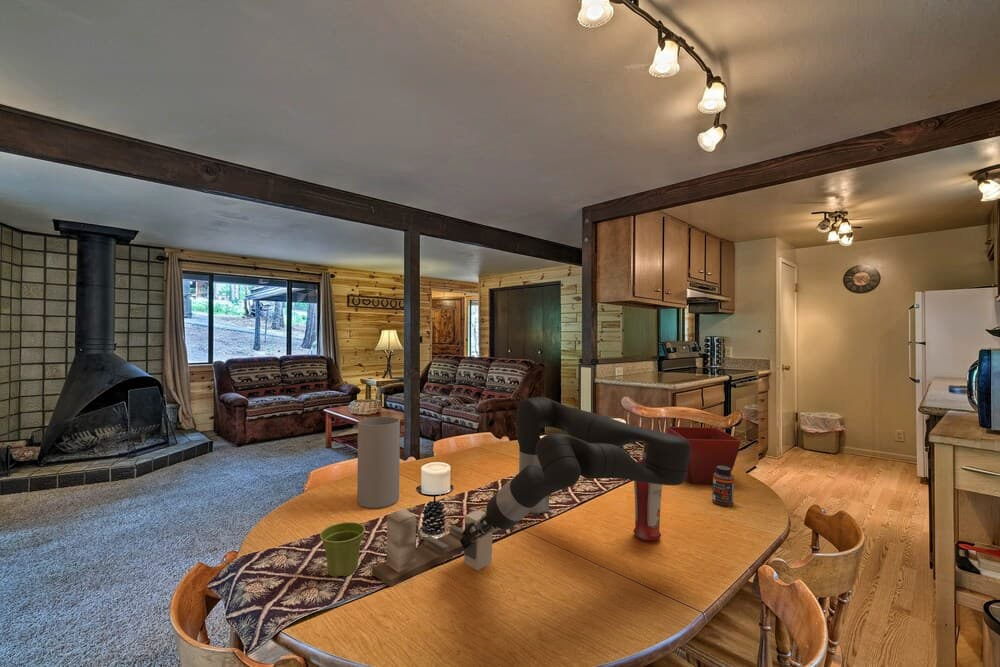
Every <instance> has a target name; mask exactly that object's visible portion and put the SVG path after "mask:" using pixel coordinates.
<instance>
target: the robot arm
mask: <svg viewBox="0 0 1000 667" xmlns="http://www.w3.org/2000/svg"><path fill="white" fill-rule="evenodd" d="M515 416H516V417H515V418H516V438H517V442H518V447H519V450H518V452H519V453H518V457H519V458H518V461H519V462H518V464H519V465H518V473H517V474H516V475H515V476H514V477H513V478H512V479H511V480H509V481H508V482H506V483H505V484H504V485H503V486H502V487H501V488H500V489H499V490H498V491H496V493H495V494H494V495H493V496H492V497H491V498H490V499H489V500H488V501H487V504H486V511H485V514H483V515H482V516H481V518H480V519H479V520H478V521H476V522H475V523H474V522H472V523H470V524H469V526H468V527H467V528H466V529H465V528H464V529H463V530H464V532H463V533H462V535H463V538H462V539H461V540H460V543H461V545H462V547H463V548H464V549H465V548H467V547H468V546H469V545H471V544H472V543H473V542H475V540H477V539H478V538H483V537H485V536H486V535H487V534H488V533H490V532H492V534H493V533H495V532H497V531H499V530H502V531H506V530H507V531H509V530H511V529H512V528H514V527H515V526H516V525H517V524H518V523H519V522H520V521H521V520H523V519H524V518H525V517H526V516H527V515H529V514H543V513H550V495H552V494H554V493H556V492H559V491H562V490H565V489H568V488H571V487H573V486H574V485H576V484H577V483H578V481H579V480H580V478H581V477H582V478H585V479H590V480H591V479H593V480H594V479H597V480H598V479H620V480H629V481H633V482H634V481H639V482H646V483H653V484H660V485H662V486H672V487H673V486H680V485H683V484H684V483H685V481H686V476H687V471H688V464H689V458H690V451H691V445H690V443H689V442H688V441H687V440H686V439H684V438H682V437H679V436H676V435H672V434H668V432H665V431H664V432H663V431H659V430H655V429H651V428H646V427H642V426H638V425H632V424H630V423H627V422H623V421H620V420H617V419H614V418H610V417H608V416H605V415H601V414H599V413H595V412H591V411H588V410H587V411H586V410H584V409H580V408H579V409H578V408H575V407H570V406H567V405H565V404H562V403H561V402H559V401H555V400H553V399H551V398H549V397H547V396H537V397H529V398H524V399H522V400H520V402H519V403H518V405H517V407H516V415H515ZM542 428H554V429H557V430H561V431H563V432H565V433H561V432H559V433H558V432H557V433H556V432H554V433H548V434H546V435H545V434H544V436H542V437H541V434H540V429H542ZM566 433H567V434H566ZM640 442H641V443H644V442H646V443H647V444H648V447H647V453H646V460H645V467H643V466H641V465H639V464H638V463H637V460H635V459H634V458H633V457H632V456H631V455H630V454H629V453H628V452H627V451H626V450H624V449H623V448H621V447H622V446H625V445H627V444H628V445H629V444H633V443H634V444H635V443H640ZM481 529H482V531H484V533H482V531H481Z"/></svg>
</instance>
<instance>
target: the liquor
mask: <svg viewBox="0 0 1000 667" xmlns="http://www.w3.org/2000/svg"><path fill="white" fill-rule="evenodd" d="M647 447H648V444H647V443H646V442H643V452H642V459H639V460H636V462H637V463H638V464H639V465H641V466H643V467H645V460H646V453H647ZM633 486H634V487H633V489H634V513H635V514H634V515H635V519H634V520H635V521H634V525H635V526H634V528H633V533H634V535H635V536H636V537H637V538H638V539H639V540H640V541H642V542H647V543H654V542H655V541H657V540H658V539H660V538H661V537H662V533H661V532H660V524H661V504H662V503H661V502H662V495H663V494H662V493H663V485H660V484H653V483H646V482H639V481H633Z"/></svg>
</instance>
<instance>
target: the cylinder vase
mask: <svg viewBox="0 0 1000 667" xmlns="http://www.w3.org/2000/svg"><path fill="white" fill-rule="evenodd" d="M400 422H401V419H400V418H398V417H393V416H373V417H366V418H362V419H359V420H358V421H357V474H356V475H357V478H356V479H357V483H356V484H357V486H356V487H357V489H356V490H357V491H356V493H357V495H356V497H357V498H356V500H357V504H358V505H359V506H361V507H362V508H366V509H383V508H388V507H390V506H393V505H394V504H396V503H397V502H398V501H399V498H400V463H401V462H400V457H401V456H400V453H401V452H400V451H401V450H400V448H401V447H400V446H401V442H400V440H401V439H400V436H401V435H400V434H401V423H400Z"/></svg>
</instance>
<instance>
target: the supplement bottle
mask: <svg viewBox="0 0 1000 667" xmlns="http://www.w3.org/2000/svg"><path fill="white" fill-rule="evenodd" d="M734 488H735V477H734V475H733V474H732V471H731V468H729V467H726V466H717V472H716V473H714V474H713V484H712V496H711V498H712V502H713V503H714V504H716V505H718V506H722V507H731V506H732V505H734Z"/></svg>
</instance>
